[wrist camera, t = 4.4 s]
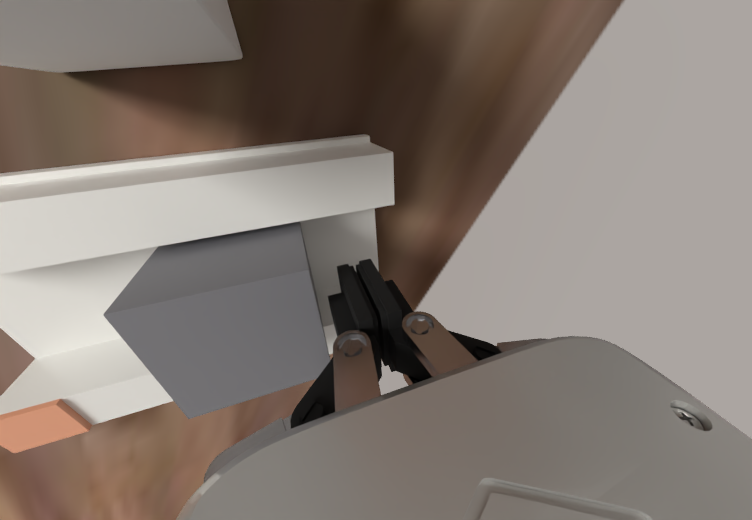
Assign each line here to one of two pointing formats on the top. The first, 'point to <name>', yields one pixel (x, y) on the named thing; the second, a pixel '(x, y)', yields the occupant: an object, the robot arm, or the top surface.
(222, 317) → the block
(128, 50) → the milk carton
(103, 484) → the top surface
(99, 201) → the chute
